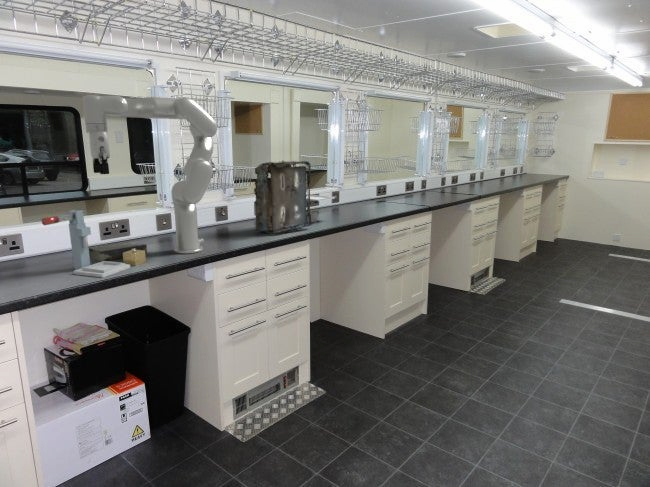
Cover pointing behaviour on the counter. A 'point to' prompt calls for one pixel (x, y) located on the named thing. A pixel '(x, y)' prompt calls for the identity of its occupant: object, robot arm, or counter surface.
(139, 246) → the stone block
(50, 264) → the counter surface
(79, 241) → the press
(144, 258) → the housing
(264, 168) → the machinery component
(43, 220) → the lever
